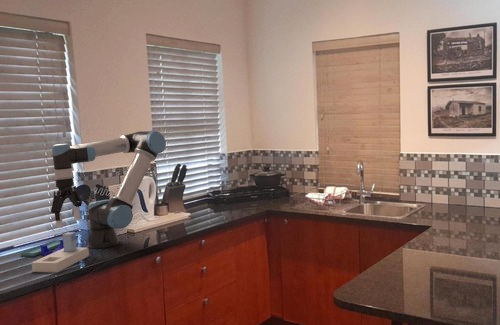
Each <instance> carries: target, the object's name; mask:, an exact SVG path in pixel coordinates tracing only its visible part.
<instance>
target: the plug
mask: <svg viewBox="0 0 500 325" xmlns="http://www.w3.org/2000/svg"><path fill="white" fill-rule="evenodd" d="M62 239H63V245H64V252H74V251H76V250H77V234H76V232H75V231H72V232H71V231H67V232H65V233H62Z"/></svg>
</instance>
